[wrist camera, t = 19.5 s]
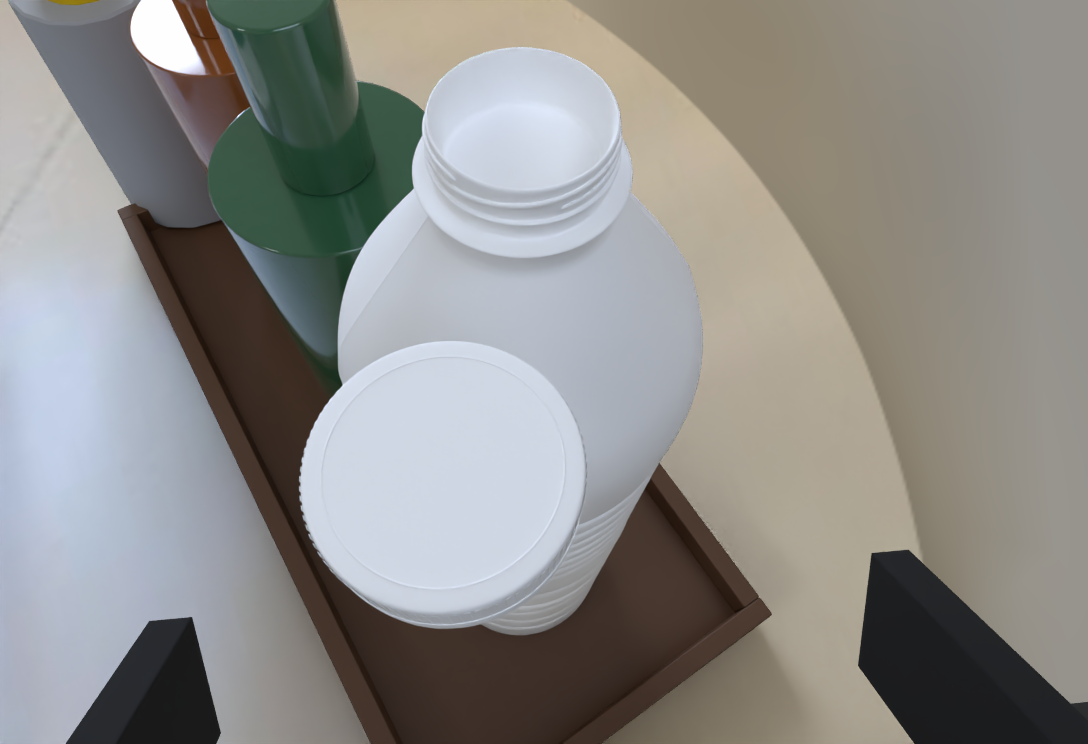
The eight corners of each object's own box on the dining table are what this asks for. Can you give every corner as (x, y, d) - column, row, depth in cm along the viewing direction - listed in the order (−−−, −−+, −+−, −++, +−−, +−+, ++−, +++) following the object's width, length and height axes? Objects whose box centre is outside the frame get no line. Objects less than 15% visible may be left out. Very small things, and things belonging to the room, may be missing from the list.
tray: (755, 621, 30) (773, 614, 28) (438, 859, 26) (431, 871, 24) (394, 128, 42) (388, 98, 40) (138, 237, 38) (116, 209, 36)
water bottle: (461, 474, 32) (321, -102, 9) (603, 495, 32) (809, -42, 9) (418, 681, 28) (5, 549, 5) (579, 707, 28) (834, 682, 5)
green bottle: (493, 361, 34) (463, -68, 16) (449, 480, 32) (350, 132, 13) (372, 328, 35) (204, -124, 16) (318, 442, 32) (41, 55, 14)
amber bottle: (393, 225, 38) (293, -176, 21) (350, 315, 35) (194, -59, 18) (292, 198, 39) (114, -212, 22) (241, 285, 36) (-7, -104, 19)
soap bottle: (139, 158, 41) (-94, -210, 25) (263, 143, 42) (116, -219, 26) (135, 252, 38) (-133, -98, 22) (268, 234, 39) (105, -112, 23)
